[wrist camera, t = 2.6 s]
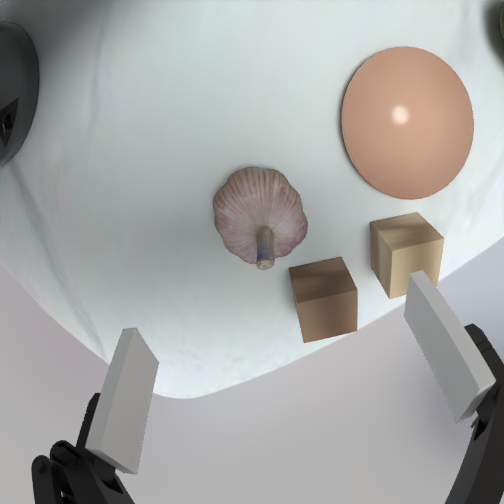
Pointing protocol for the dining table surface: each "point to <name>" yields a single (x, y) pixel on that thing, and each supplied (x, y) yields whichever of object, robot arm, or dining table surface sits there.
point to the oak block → (404, 251)
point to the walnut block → (324, 299)
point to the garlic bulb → (259, 216)
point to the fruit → (502, 20)
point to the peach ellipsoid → (407, 122)
